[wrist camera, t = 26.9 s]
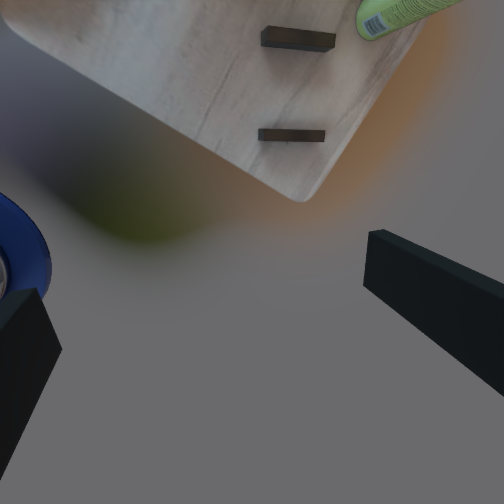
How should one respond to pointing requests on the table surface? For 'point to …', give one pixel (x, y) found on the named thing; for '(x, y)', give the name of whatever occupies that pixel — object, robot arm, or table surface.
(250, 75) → the table surface
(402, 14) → the tube
